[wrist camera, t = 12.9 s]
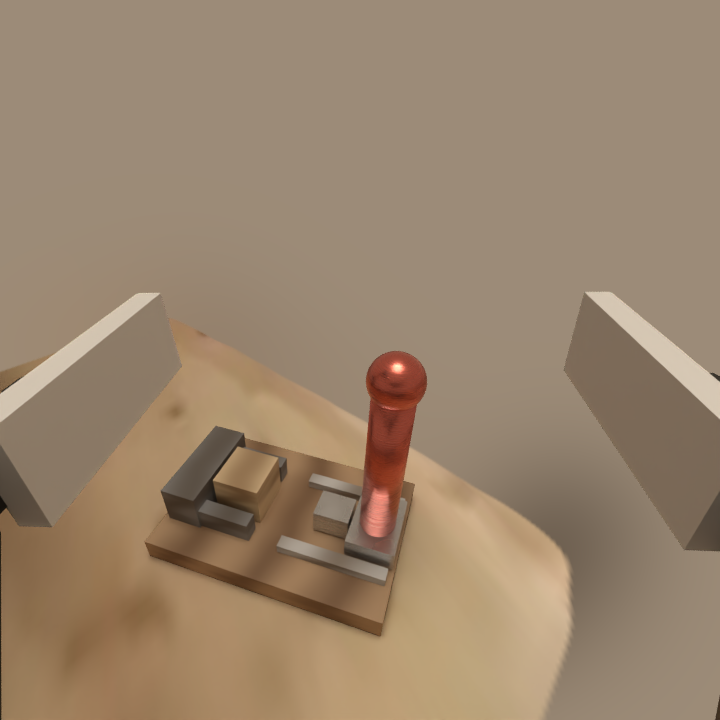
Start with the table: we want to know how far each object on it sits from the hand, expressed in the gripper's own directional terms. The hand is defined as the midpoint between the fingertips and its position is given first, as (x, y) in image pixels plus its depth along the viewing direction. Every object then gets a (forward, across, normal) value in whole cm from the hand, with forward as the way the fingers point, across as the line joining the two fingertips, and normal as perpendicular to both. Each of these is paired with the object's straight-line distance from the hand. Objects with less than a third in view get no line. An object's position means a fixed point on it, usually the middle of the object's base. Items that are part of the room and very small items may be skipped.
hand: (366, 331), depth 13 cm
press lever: (+11, -2, -25) cm, 27 cm away
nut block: (+13, -12, -24) cm, 30 cm away
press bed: (+13, -8, -26) cm, 30 cm away
